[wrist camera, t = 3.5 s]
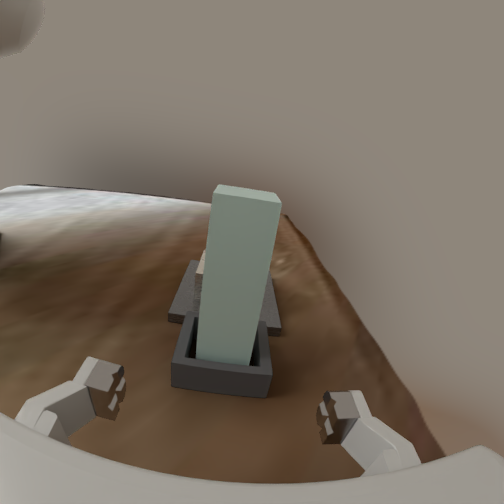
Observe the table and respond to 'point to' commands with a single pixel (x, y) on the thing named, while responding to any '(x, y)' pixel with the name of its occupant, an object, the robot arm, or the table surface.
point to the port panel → (191, 297)
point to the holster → (221, 366)
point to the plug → (235, 272)
